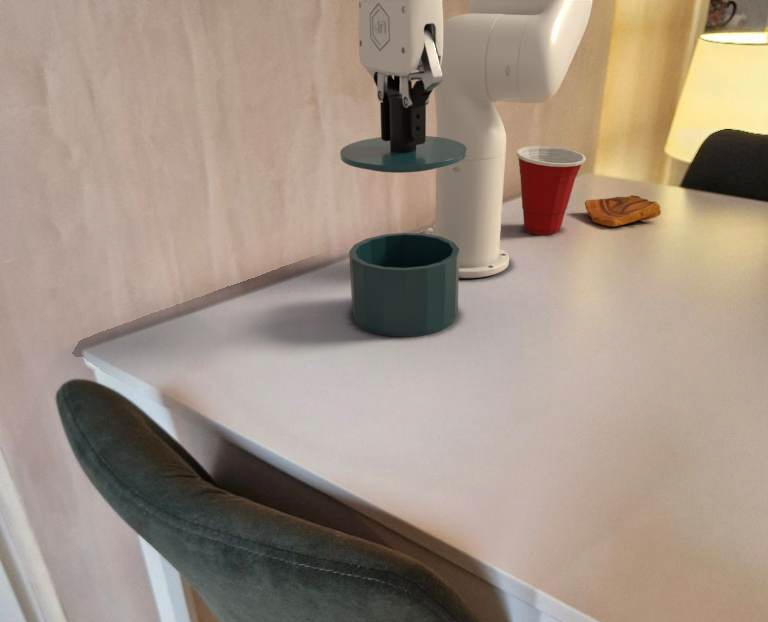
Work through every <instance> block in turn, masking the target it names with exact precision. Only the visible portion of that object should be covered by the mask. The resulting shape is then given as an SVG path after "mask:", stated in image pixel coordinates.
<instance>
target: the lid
mask: <svg viewBox="0 0 768 622" xmlns="http://www.w3.org/2000/svg"><path fill="white" fill-rule="evenodd" d="M399 107H404V105H403V99H402V94H394V95H390V96H389V116H390V141H384V140H382V138H381V136H379V137H372V138H367V139H361V140H358V141H355V142H352V143H349V144H347V145H345V146H344V147H342V148H341V149H340V152H339V158H340V160H341V161H342V163H344V164H346V165H348V166H350V167H354V168H358V169H362V170H369V171H374V172H381V173H394V174H395V173H397V174H398V173H399V174H402V173H403V174H404V173H405V174H406V173H419V172H424V171H425V172H427V171H432V170H436V168H440V167H444V166H448V165H451V164H454V163H457V162H459V161H461V160H463V159H464V158H465V157H466V154H467V149H466V146H465V145H463V144H462V143H460V142H457V141H454V140H451V139H446V138H440V137H437V136H430V135H426V141H425V143H424V144H419V145H414V146H409V147H403V146H401V145H400V126H399Z"/></svg>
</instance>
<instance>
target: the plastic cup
mask: <svg viewBox="0 0 768 622" xmlns="http://www.w3.org/2000/svg"><path fill="white" fill-rule="evenodd" d="M516 156H517V158H518V167H519V174H520V191H521V193H520V194H521V208H522V216H523V226H524V230H525V232H527V233H529V234H532V235H539V236H550V235H556V234H557V233H559V232H560V230H561V227H562V225H563V221H564V218H565V213H566V211H567V209H568V205H569V202H570V199H571V195H572V192H573V188H574V185H575V182H576V178H577V176H578V173H579V172H580V169H581V167H582V165H583V164H584V163H585V161H586V159H587V157H586V156H585V155H584V154H582V153H580V152H578V151H575V150H571V149H567V148H564V147H556V146H548V145H547V146H544V145H533V146H524V147H520V148H518V149H517V150H516Z"/></svg>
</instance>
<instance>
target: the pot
mask: <svg viewBox="0 0 768 622" xmlns="http://www.w3.org/2000/svg"><path fill="white" fill-rule="evenodd" d="M459 254H460V249H459V248H458V247H457V246H456V244H455V243H454V242H452V241H450V240H447V239H445V238H443V237H439V236H434V235H429V234H425V233H420V232H419V233H416V232H397V233H386V234H381V235H376V236H372V237H368V238H365V239H363V240H360V241H359V242H357V243H355V244H353V245H352V247H351V248H350V250H349V251H348V257H349V259H348V260H349V276H350V291H351V292H350V294H351V295H350V296H351V310H352V314H353V315H352V316H353V317H352V318H353V321H354V323H355V324H356V325H357V326H359V327H360V328H362V329H363V330H365V331H367V332H369V333H373V334H376V335H379V336H388V337H395V338H396V337H399V338H402V337H403V338H405V337H406V338H408V337H419V336H426V335H431V334H434V333H437V332H440V331H443V330H444V329H446V328H448V327H450V326H451V325H452V324H453V323H455V321H456V319H457V315H458V308H459V283H460V281H459V279H460V278H459Z"/></svg>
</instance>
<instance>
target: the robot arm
mask: <svg viewBox="0 0 768 622" xmlns="http://www.w3.org/2000/svg"><path fill="white" fill-rule="evenodd" d="M443 6H444V5H443V0H358V55H359V63H360V64H361V65H362V67H364V68H365V69H366V71H367V72H368V74H369V75H370V76H371V77H372V79H373V82H374V84H375V87H376V88H377V90H376V97H377V100H378V102H379V104H380V132H381V133H380V137H381V138H382V140H384V141H390V116H389V96H390V95H394V94H402V99H403V105H404V107H399V126H400V145H401V146H403V147H409V146H414V145H419V144H424V143H425V141H426V136H427V134H426V133H427V132H426V131H427V130H426V129H427V106H428V105H429V103H430V95H431V94H432V93H433V94H434V101H435V103H434V104H435V115H436V116H435V117H436V137H440V138H446V139H451V140H454V141H457V142H460V143H462V144H463V145H465V146H466V149H467V154H466V157H465V158H464V159H463V160H461V161H459V162H457V163H454V164H451V165H448V166H444V167H440V168H435V174H436V175H435V222H434V224H433V225H432V228H431V227H428V228H427V229H426V230H425V233H424V234H429V235H434V236H439V237H443V238H445V239H447V240H450V241H452V242H454V243H455V244H456V246H457V247H458V248H459V249H460V254H459V279H477V278H484V277H489V276H494V275H497V274H500V273H502V272H503V271H505V270H506V269H507V268H508V267H509V264H510V255H509V254H508V253H507V251H506V250H504V249H502V248H501V247H500V246H501V245H500V244H501V229H502V214H503V212H502V211H503V198H504V186H505V185H504V182H505V167H506V154H507V153H506V152H507V133H506V129H505V125H504V122H503V120H502V117H501V116H500V114H499V111H498V110H497V108H496V106H495V105H494V102H502V103H503V102H505V103H518V104H519V103H521V104H540V103H545V102H547V101H549V100H550V99H553V97H554V96H555V95H556V94H557V93H558V91H559V89H560V87H561V86H562V84H563V81H564V80H565V76H566V75H567V73H568V70H569V68H570V66H571V63H572V61H573V59H574V57H575V54H576V52H577V50H578V48H579V46H580V43H581V41H582V39H583V37H584V34H585V31H586V28H587V26H588V23H589V20H590V16H591V12H592V6H593V0H469V3H468V11H467V12H468V13H461V14H458V15H455V16H452V17H449V18H448V19H446V20H444V9H443ZM412 71H414V72H412ZM415 71H416V72H415ZM415 80H416V81H415ZM412 81H414V84H413V82H412Z"/></svg>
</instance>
